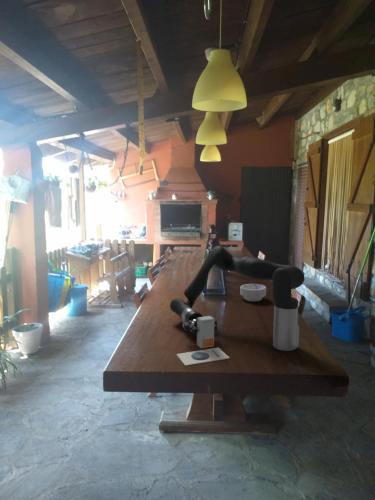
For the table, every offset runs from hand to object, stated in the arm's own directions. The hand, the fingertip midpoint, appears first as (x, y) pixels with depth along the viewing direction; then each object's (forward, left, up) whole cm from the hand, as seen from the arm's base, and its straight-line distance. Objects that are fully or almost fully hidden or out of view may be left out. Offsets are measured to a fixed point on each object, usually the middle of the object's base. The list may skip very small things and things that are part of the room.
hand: (206, 330), depth 149 cm
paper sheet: (+5, +8, -7) cm, 12 cm away
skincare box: (0, -1, -7) cm, 7 cm away
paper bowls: (-53, -54, -7) cm, 76 cm away
